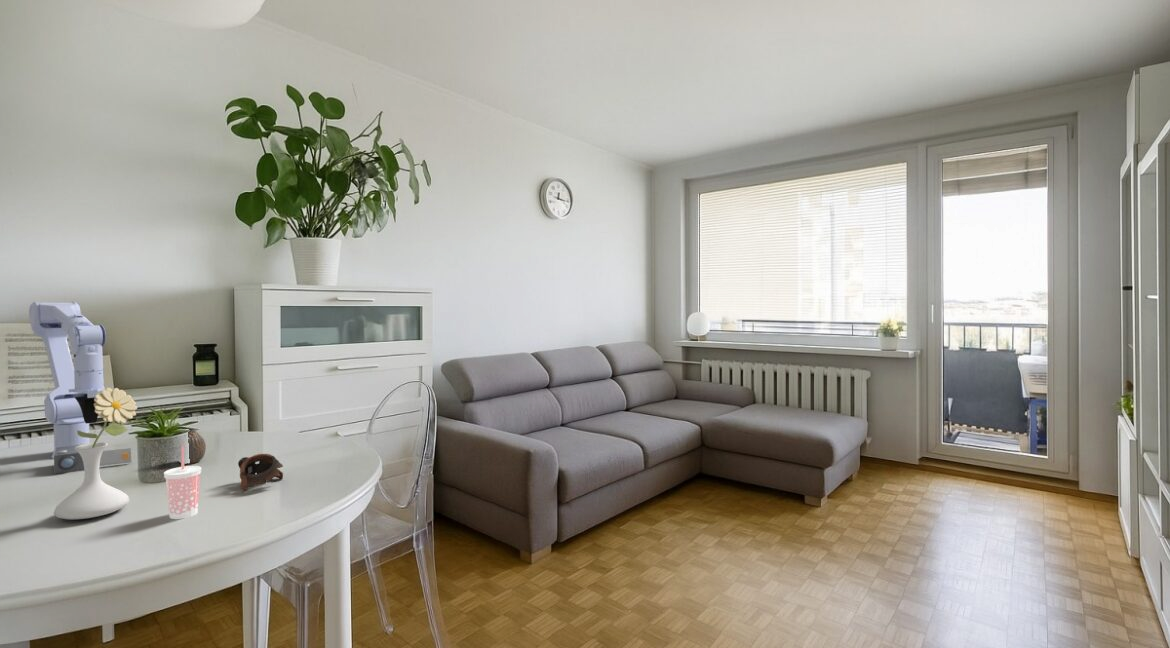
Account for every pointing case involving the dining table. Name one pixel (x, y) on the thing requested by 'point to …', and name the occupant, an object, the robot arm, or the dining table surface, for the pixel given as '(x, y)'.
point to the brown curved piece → (258, 470)
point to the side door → (116, 456)
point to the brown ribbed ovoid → (196, 446)
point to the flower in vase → (94, 492)
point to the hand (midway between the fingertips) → (90, 422)
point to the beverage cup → (183, 489)
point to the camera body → (67, 459)
